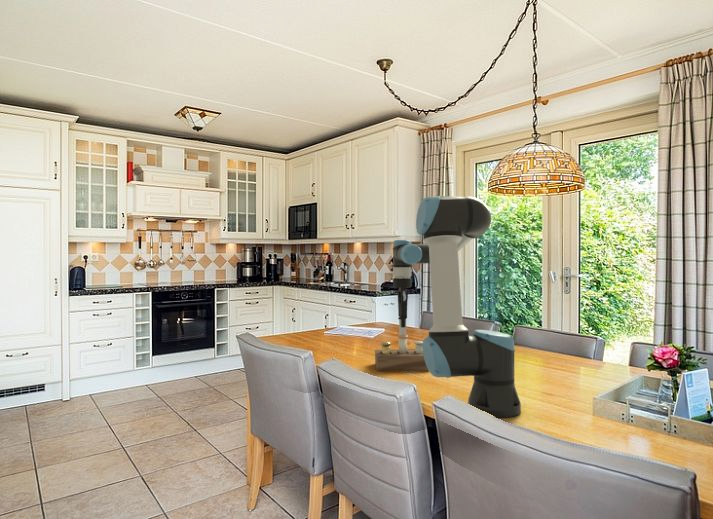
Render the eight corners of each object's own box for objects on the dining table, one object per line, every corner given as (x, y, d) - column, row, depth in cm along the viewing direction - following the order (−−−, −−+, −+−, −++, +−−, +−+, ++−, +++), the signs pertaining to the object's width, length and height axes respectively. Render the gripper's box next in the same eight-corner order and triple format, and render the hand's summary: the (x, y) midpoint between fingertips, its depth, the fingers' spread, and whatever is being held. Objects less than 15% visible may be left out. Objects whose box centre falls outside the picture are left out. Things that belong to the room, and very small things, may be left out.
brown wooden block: (432, 370, 182) (432, 355, 182) (377, 371, 181) (377, 356, 181) (426, 362, 194) (426, 348, 194) (375, 363, 193) (375, 349, 193)
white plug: (408, 357, 185) (408, 336, 185) (398, 358, 185) (398, 336, 185) (407, 355, 189) (407, 334, 189) (397, 355, 189) (397, 334, 189)
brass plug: (391, 365, 185) (391, 343, 185) (381, 365, 185) (381, 343, 185) (390, 362, 189) (390, 341, 189) (380, 362, 189) (380, 341, 189)
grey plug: (425, 364, 185) (425, 342, 185) (415, 364, 185) (415, 343, 185) (424, 361, 190) (423, 340, 189) (413, 362, 189) (413, 341, 189)
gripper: (414, 278, 180) (414, 337, 181) (409, 276, 193) (409, 331, 194) (395, 278, 180) (395, 337, 180) (391, 276, 193) (391, 332, 193)
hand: (402, 334), depth 187 cm, fingers closed
